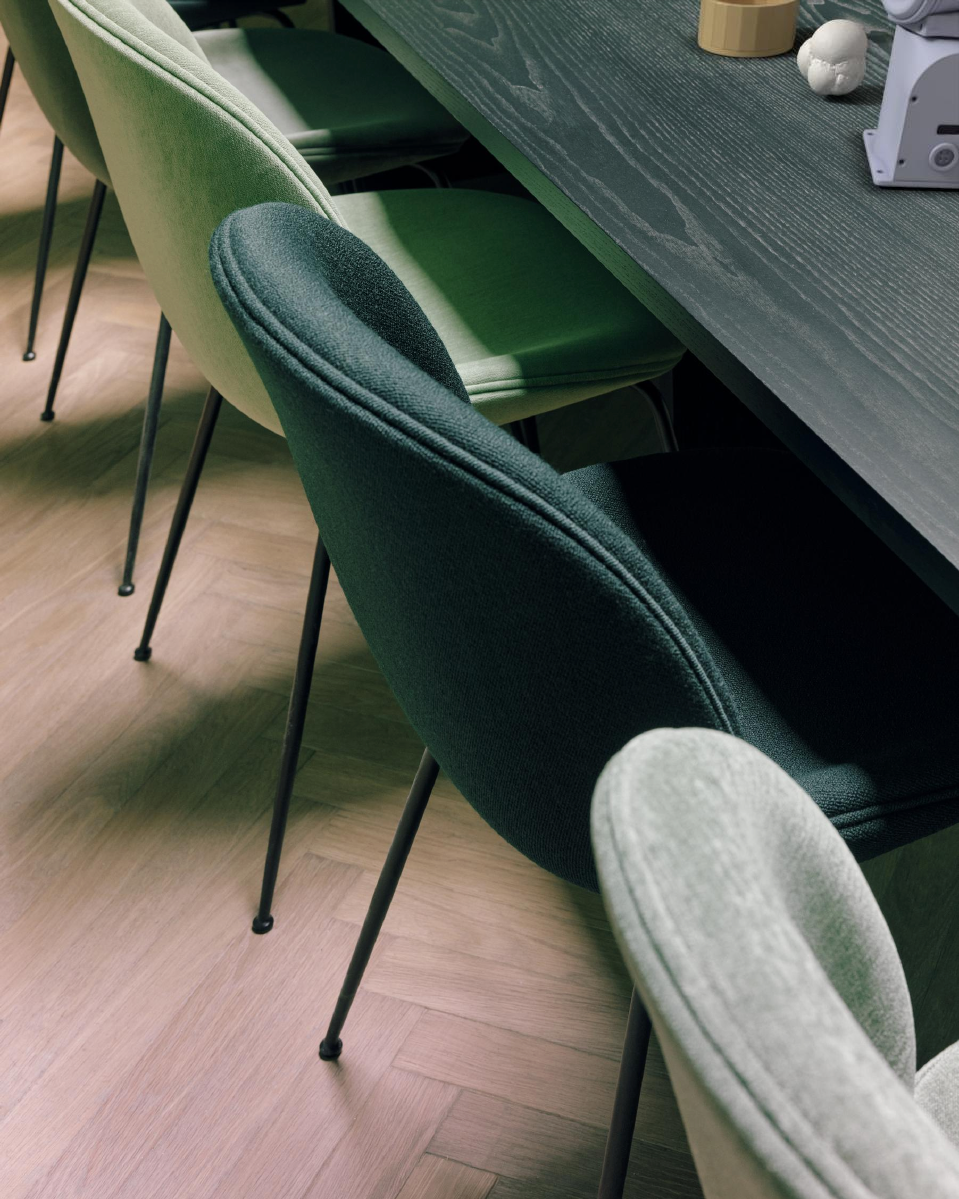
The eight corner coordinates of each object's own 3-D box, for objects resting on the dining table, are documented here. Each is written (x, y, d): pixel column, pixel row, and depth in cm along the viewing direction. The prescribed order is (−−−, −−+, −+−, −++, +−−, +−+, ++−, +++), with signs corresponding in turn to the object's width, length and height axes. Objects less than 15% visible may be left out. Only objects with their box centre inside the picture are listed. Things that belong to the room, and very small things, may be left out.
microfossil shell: (850, 109, 92) (863, 32, 88) (782, 100, 94) (792, 24, 90) (866, 91, 94) (879, 15, 91) (799, 82, 96) (810, 8, 93)
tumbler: (795, 58, 101) (802, 7, 98) (696, 56, 102) (700, 5, 100) (791, 29, 107) (798, -20, 105) (698, 28, 108) (702, -21, 106)
